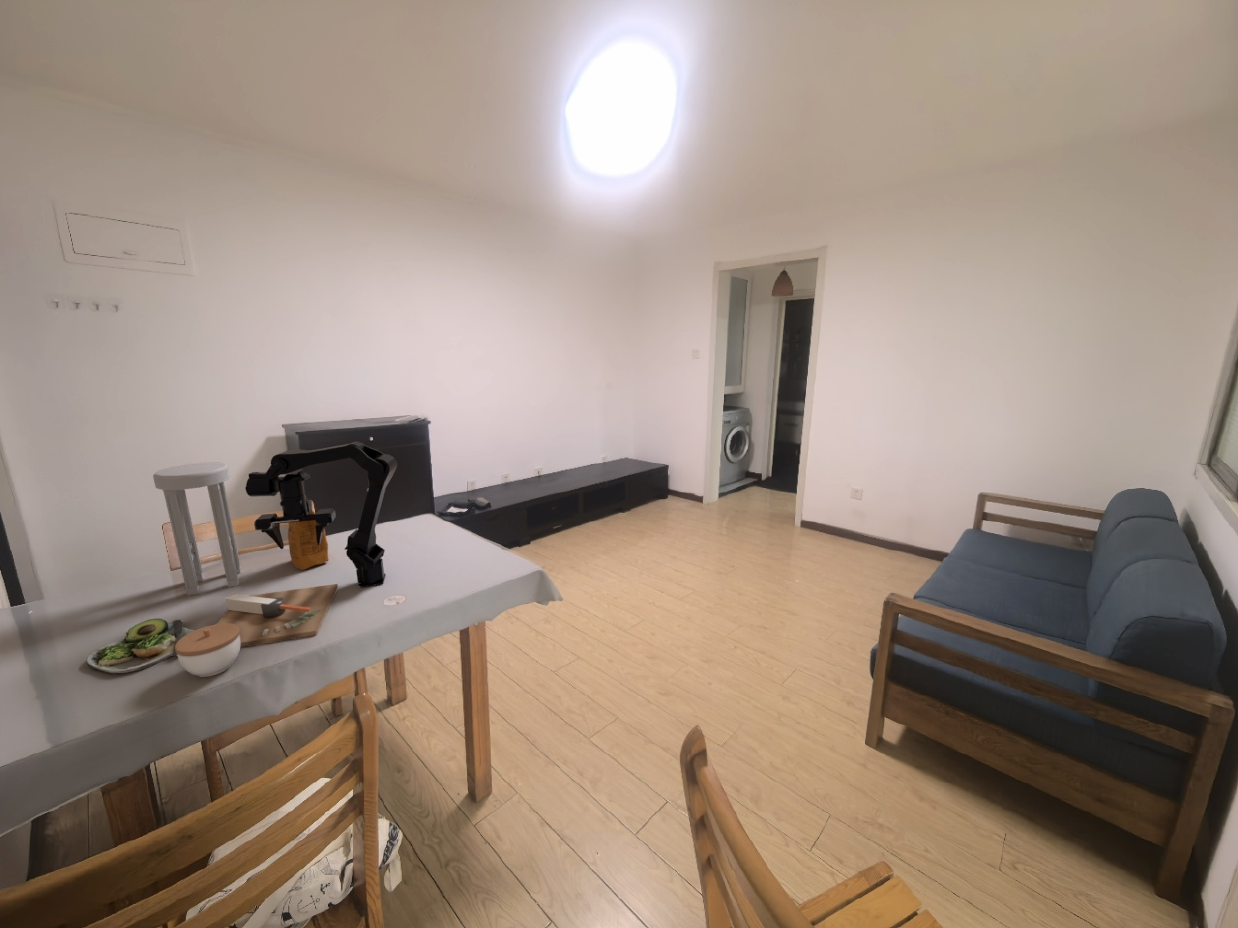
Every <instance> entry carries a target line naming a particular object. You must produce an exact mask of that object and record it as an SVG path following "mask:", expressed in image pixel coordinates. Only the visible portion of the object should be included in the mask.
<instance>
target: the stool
mask: <svg viewBox="0 0 1238 928" xmlns="http://www.w3.org/2000/svg"><path fill="white" fill-rule="evenodd" d="M152 477H153V483H154V486H155V488H156V489H157V490H162V492H163V495H164V500H165V503H166V508H167V512H168V517H169V522H170V526H171V530H172V534H173V539H174V543H175V547H176V553H177V556H178V560H179V565H180V569H181V570H180V571H181V573H182V579H183V582H184V587H185V592H186V595H188V596H193V595H197V594H199V592H200V587H199V584H198V582H202V581H204V579H205V577H204V576H205V575H204V572H203V571H204V570H203V566H202V563H201V557H200V554H199V549H198V544H197V540H196V535H195V531H194V526H193V521H192V517H191V513H190V507H189V502H188V497H187V495H186V494H187V493H186V490H190V489H198V488H204V487H207V492H208V497H209V501H210V502H209V503H210V506H211V511H212V516H213V521H214V526H215V530H216V535H217V541H218V544H219V550H220V554H221V555H220V556H221V560H222V565H223V568H224V573H225V574H224V575H225V578H226V580H225V581H226V584H227V588H231V587H234V586H235V587H236V586H238V585H239V577H238V575H239V574H241V572H242V567H241V562H240V557H239V552H238V547H237V543H236V542H237V541H236V537H235V531H234V527H233V522H232V517H231V512H230V507H229V506H230V505H229V502H228V496H227V492H226V491H227V490H226V487H225V482H226V481H228V480H229V479H230V477H231V475H230V470H229V465H228V464H227V463H222V462H198V463H186V464H180V465H175V466H174V465H173V466H170V467H169V466H168V467H165V468H162V469H159V470H157V471H156V472H155V473H154V474H153V475H152Z"/></svg>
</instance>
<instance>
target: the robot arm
mask: <svg viewBox="0 0 1238 928" xmlns="http://www.w3.org/2000/svg"><path fill="white" fill-rule="evenodd" d="M347 459H351V460H352V461H354V462H355V463H356V464H357V465H358V466H359V467H361V469H363V470H365V471H367V481H368V490H367V493H366V497H365V500H364V504H363V507H362V508H363V509H362V513H361V517H360V520H359V523H358V524H359V525H358V528H357V529H355V530H354V531H353V532H351V534H349V536H347V540H346V541H347V542H346V543H347V544H346V547H344V550H346V552H345V553H346V557H348V559H349V560H350V561H351V562H352V563H353V565H354V568H355V569H356V571H355V572H356V579H357V583H358V587H359V588H364V587H372V586H373V587H374V586H379V585H383V584H384V582H385V578H386V575H387V574H386V573H385V570H384V563H383V562H384V561H383V558H382V557H384V555H385V552H386V550H385V549H384V548H383V547H381V545H379V544H377V534H376V526H377V522H378V518H379V515H380V512H381V507H382V503H383V499H384V496H385V493H386V489H387V486H388V484H389V483H390V481H391V479H392V477H393V476H394V474H395V472H396V469H397V467H398V461H397V460H396V459H395V457H394V456H392V455H391V454H387V453H386V454H385V453H383V452H382V451H380V450H378V449H376V448H372V447H370V446H367V445H366V444H364V443H362V442H360V441H353V442H351V443H347V444H346V443H345V444H341V445H335V446H330V447H324V448H317V449H312V450H311V449H309V450H308V449H307V450H306V449H288V450H286V451H283V452H280V453H278V454H277V453H276V454H275V455H273V456H272V458H271V459H270V466H269V467H268V468H267V470H266V472H264V471H263V472H260V471H252V472H250V473H248V478H247V481H246V482H245V483H246V484H245V487H244V488H245V492H246V494H247V495H248V496H249V497H253V498H254V497H275V496H276V495H277V494H278V493H279V498H280V502H279V505H280V507H281V508H282V516H278V515H277V513H276V512H275V513H265V514H261V515H260V516H259V517H258V518H257V519H256V520H255V521H253V522H254V523H253V525H254V530H255V531H261V533H265V534H266V535H267V536H269V537H270V538H271V539H272V541H274V543H275V544H276V545H277V546H278V548H279V549H280V550H283V549H284V548H285V547H284V541H283V536H282V534H281V533H282V532H281V530H280V529H281V528H280V527H281V524H287V523H288V524H289V523H290V522H301V521H311V520H316V522H317V524H316V525H315V528H316V538H317V544H318V545H320V543H321V539H322V534H323V530H324V529H325V527H327V526H329V524H332V523H333V521H334V520H335V518H336V516H337V515H336V510H335V509H334V508H321V509H318V510H317V512H314V513H315V514H308V512H310V511H313V501H312V500H311V499H308V498H307V496H306V495H307V494H305V488H304V483H303V482H304V481H306V480H309V478H311V475H310V474H308V473H307V472H304V470H301V469H303V468H306V467H309V466H312V465H318V464H324V463H330V462H334V461H340V460H347ZM298 470H300V471H298ZM297 471H298V472H297ZM293 472H296V473H293ZM281 475H283V476H281Z"/></svg>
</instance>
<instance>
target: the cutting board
mask: <svg viewBox="0 0 1238 928" xmlns="http://www.w3.org/2000/svg"><path fill="white" fill-rule="evenodd" d="M338 588H339V585H338V583H335V584H333V583H332V584H327V585H317V586H313V587H312V586H311V587H302V588H296V589H289V590H281V591H274V592H266V593H259V594H251V595H249V596H254V597H262V598H271V599H272V598H283V599H284V604H285V605H293V606H301V607H310V608H311V609H312V610H311V611H310V612H304V611H296V610H288V609H285V612H284V613H283V614H281V615H279V616H276V617H271V618H265V617H263V614H257V613H249V612H241V611H233V610H228V609H227V611H226V612H225V614H224V615H223V616H222V617H221V618H220V620H219V621H218V622H216V624H222V623H231V624H235V625H237V626H238V627H239V629H240V638H241V647H240V648H244V647H250V646H258V645H263V644H269V643H275V642H282V641H287V640H295V639H300V638H305V637H312V636H317V635H318V633H319V630H320V629H321V626H322V624H323V622H324V619H326V618H325V617H326V615H327V613H328V610H329V608H330V606H331V604H332V602H333V600H334V597H335V596H336V593H337V591H338Z"/></svg>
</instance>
